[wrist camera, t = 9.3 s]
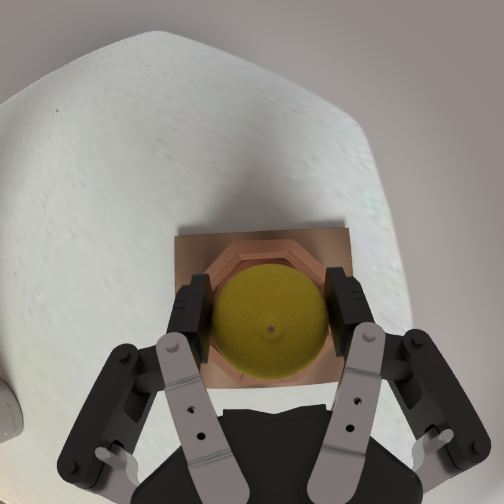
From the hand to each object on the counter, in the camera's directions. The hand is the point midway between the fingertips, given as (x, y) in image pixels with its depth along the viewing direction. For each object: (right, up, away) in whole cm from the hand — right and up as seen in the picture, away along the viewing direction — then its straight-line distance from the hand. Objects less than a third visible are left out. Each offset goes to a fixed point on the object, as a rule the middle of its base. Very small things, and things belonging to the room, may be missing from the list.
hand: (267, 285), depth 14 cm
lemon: (0, -2, +4) cm, 5 cm away
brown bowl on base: (0, -4, +12) cm, 13 cm away
